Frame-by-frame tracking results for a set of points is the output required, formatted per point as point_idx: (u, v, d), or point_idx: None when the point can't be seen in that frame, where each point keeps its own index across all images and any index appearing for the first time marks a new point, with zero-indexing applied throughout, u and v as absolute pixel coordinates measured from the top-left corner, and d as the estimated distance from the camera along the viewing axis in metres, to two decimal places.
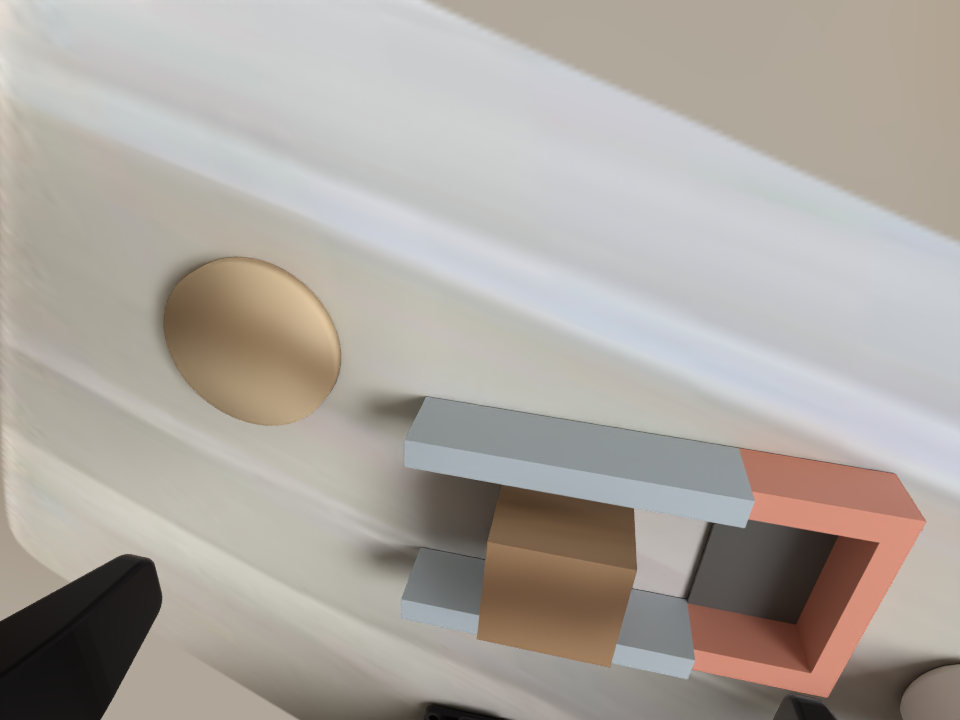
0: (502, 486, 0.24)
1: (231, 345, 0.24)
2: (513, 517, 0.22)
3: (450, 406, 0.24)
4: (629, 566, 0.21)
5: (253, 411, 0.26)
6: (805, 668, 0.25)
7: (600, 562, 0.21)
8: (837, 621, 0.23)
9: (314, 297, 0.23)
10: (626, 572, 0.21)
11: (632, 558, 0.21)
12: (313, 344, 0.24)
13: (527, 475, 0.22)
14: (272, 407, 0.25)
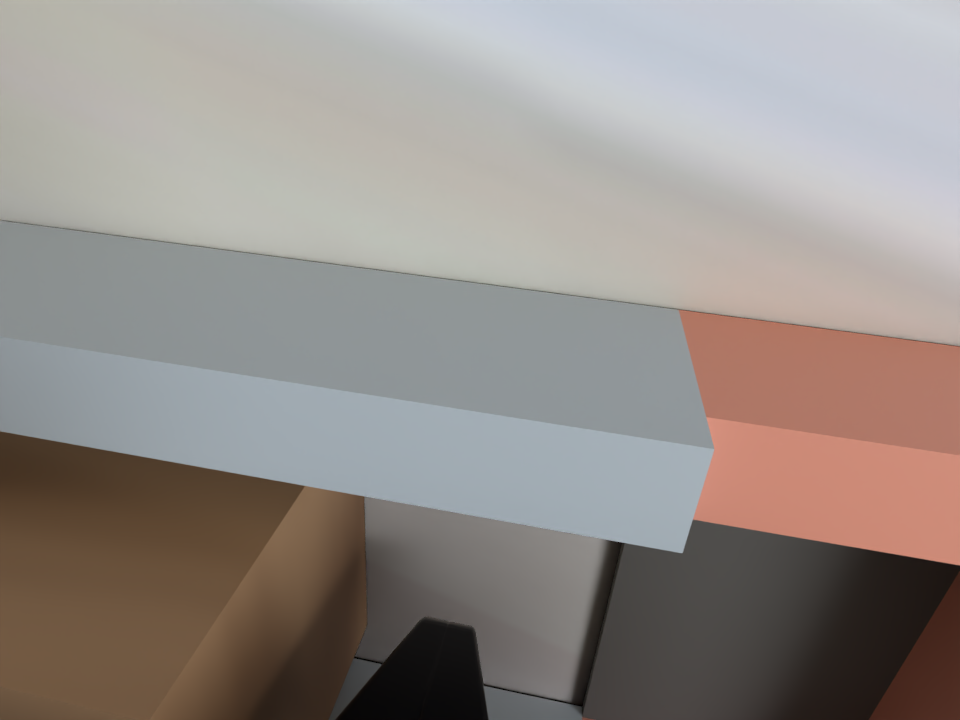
0: None
1: None
2: None
3: None
4: (131, 701, 0.05)
5: None
6: None
7: (26, 682, 0.05)
8: None
9: None
10: None
11: (171, 662, 0.05)
12: None
13: None
14: None
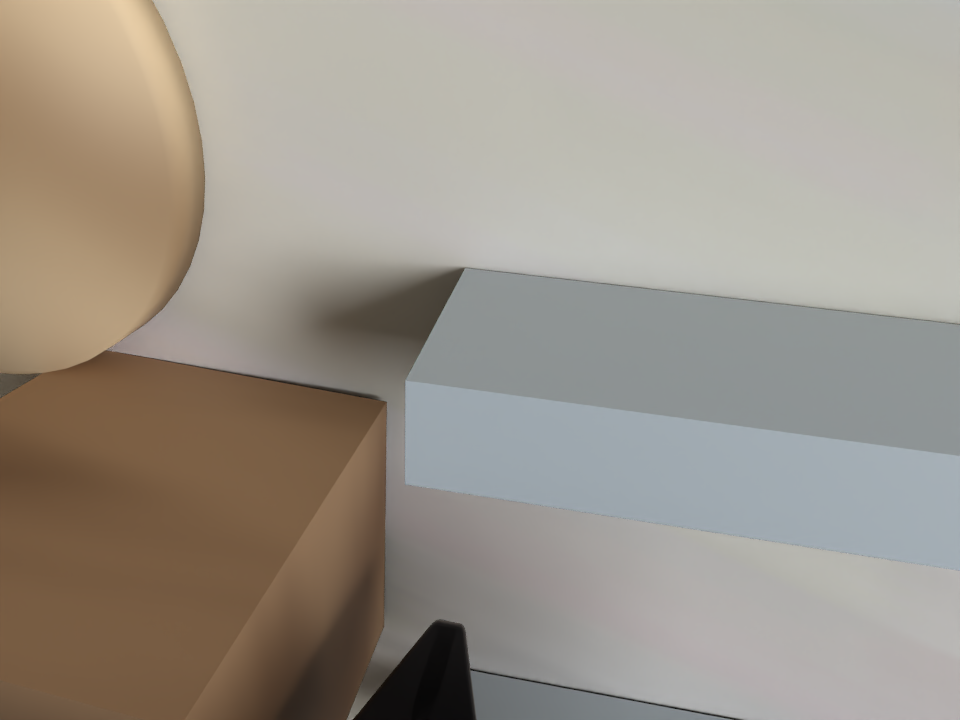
0: None
1: None
2: None
3: (545, 288, 0.08)
4: (161, 707, 0.05)
5: None
6: None
7: (55, 685, 0.05)
8: None
9: None
10: None
11: (201, 668, 0.05)
12: (90, 80, 0.07)
13: (906, 508, 0.05)
14: (19, 318, 0.09)
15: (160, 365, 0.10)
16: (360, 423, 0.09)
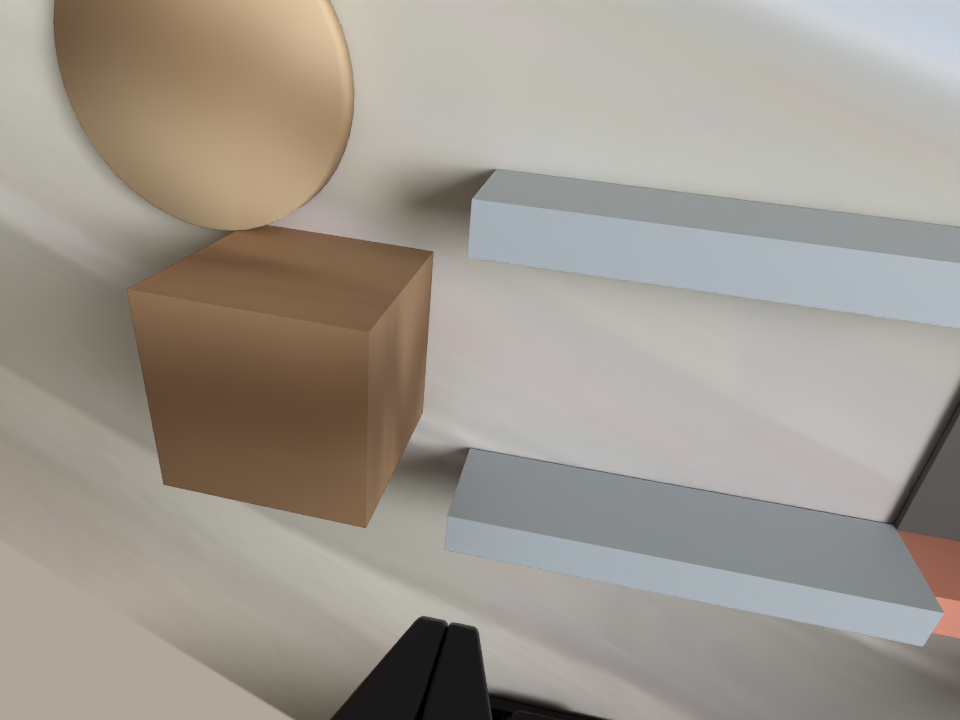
0: (212, 244, 0.15)
1: (168, 72, 0.14)
2: (201, 271, 0.13)
3: (540, 178, 0.14)
4: (359, 327, 0.12)
5: (208, 204, 0.16)
6: None
7: (311, 320, 0.12)
8: None
9: None
10: (354, 337, 0.12)
11: (371, 319, 0.12)
12: (307, 58, 0.14)
13: (698, 260, 0.12)
14: (239, 194, 0.15)
15: (300, 230, 0.16)
16: (421, 257, 0.16)
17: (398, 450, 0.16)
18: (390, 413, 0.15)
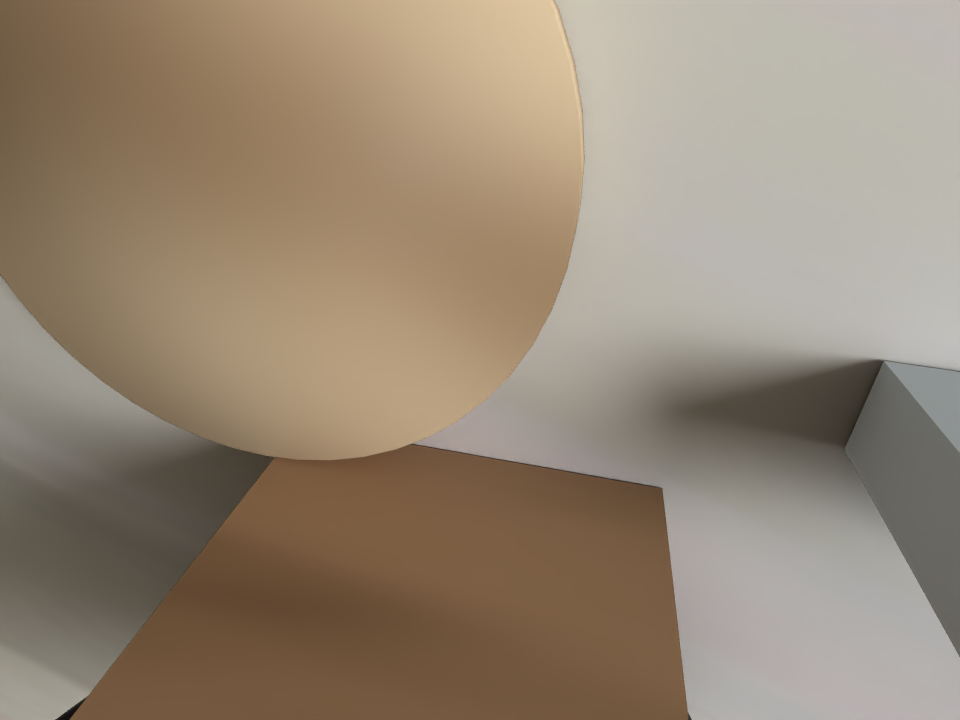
0: (225, 527, 0.07)
1: (171, 163, 0.06)
2: (202, 661, 0.06)
3: None
4: None
5: (254, 414, 0.08)
6: None
7: None
8: None
9: None
10: None
11: None
12: (505, 136, 0.06)
13: None
14: (319, 400, 0.07)
15: None
16: (652, 519, 0.08)
17: None
18: None
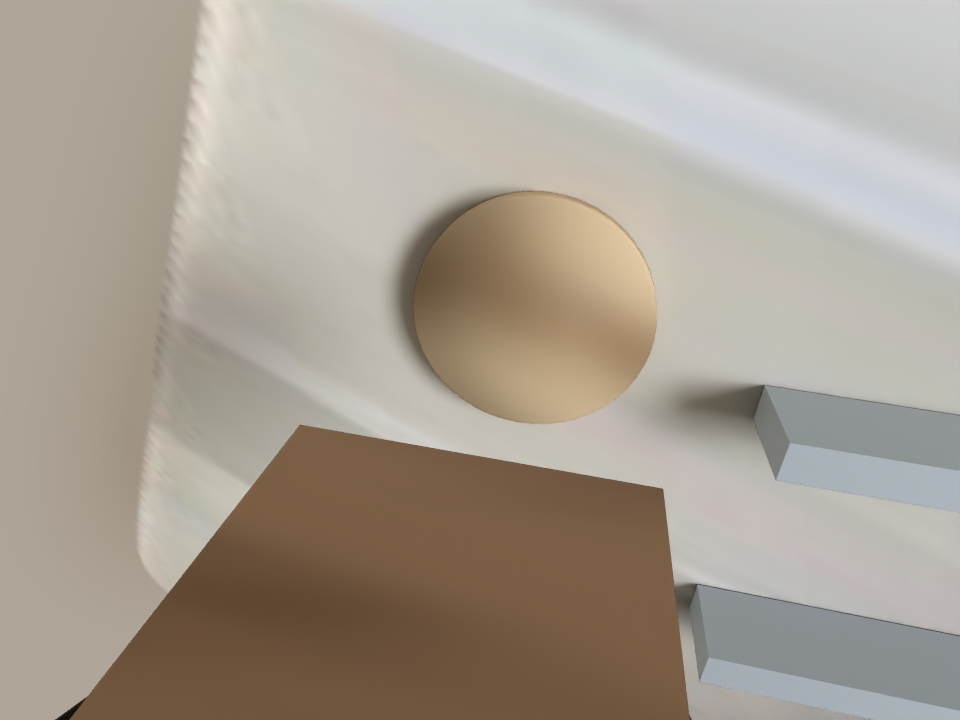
0: (225, 527, 0.07)
1: (508, 314, 0.18)
2: (199, 662, 0.06)
3: (807, 398, 0.18)
4: None
5: (517, 405, 0.19)
6: None
7: None
8: None
9: (637, 246, 0.17)
10: None
11: None
12: (632, 311, 0.17)
13: None
14: (547, 399, 0.19)
15: (393, 447, 0.08)
16: (653, 520, 0.08)
17: None
18: None
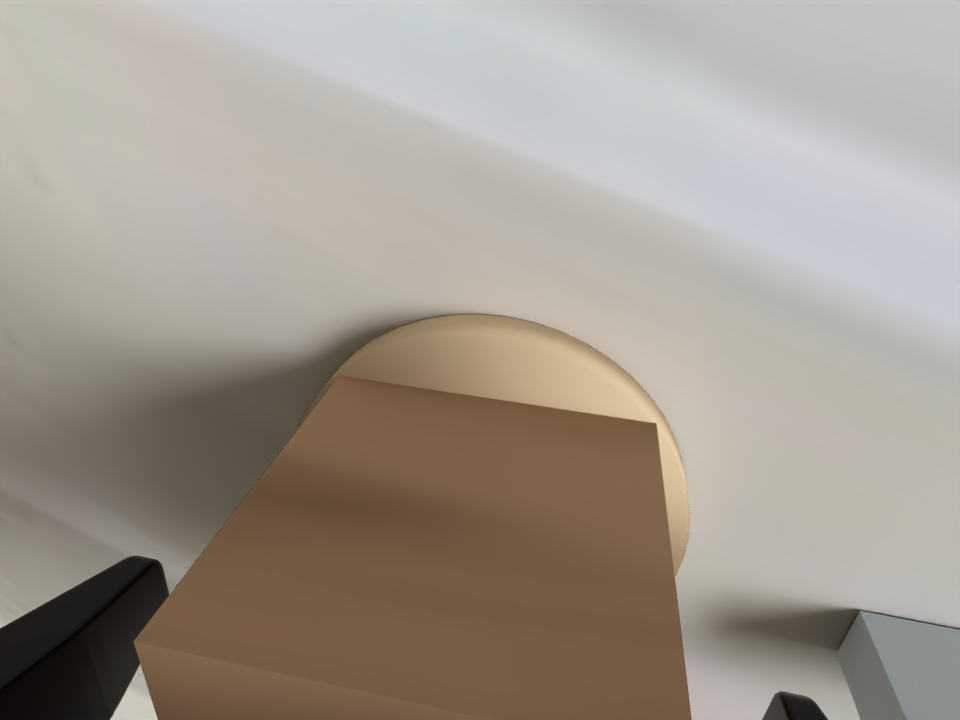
0: (285, 451, 0.08)
1: None
2: (278, 544, 0.07)
3: (934, 641, 0.11)
4: None
5: None
6: None
7: None
8: None
9: (656, 408, 0.10)
10: None
11: (675, 702, 0.05)
12: None
13: None
14: None
15: (421, 392, 0.10)
16: (647, 445, 0.09)
17: None
18: None
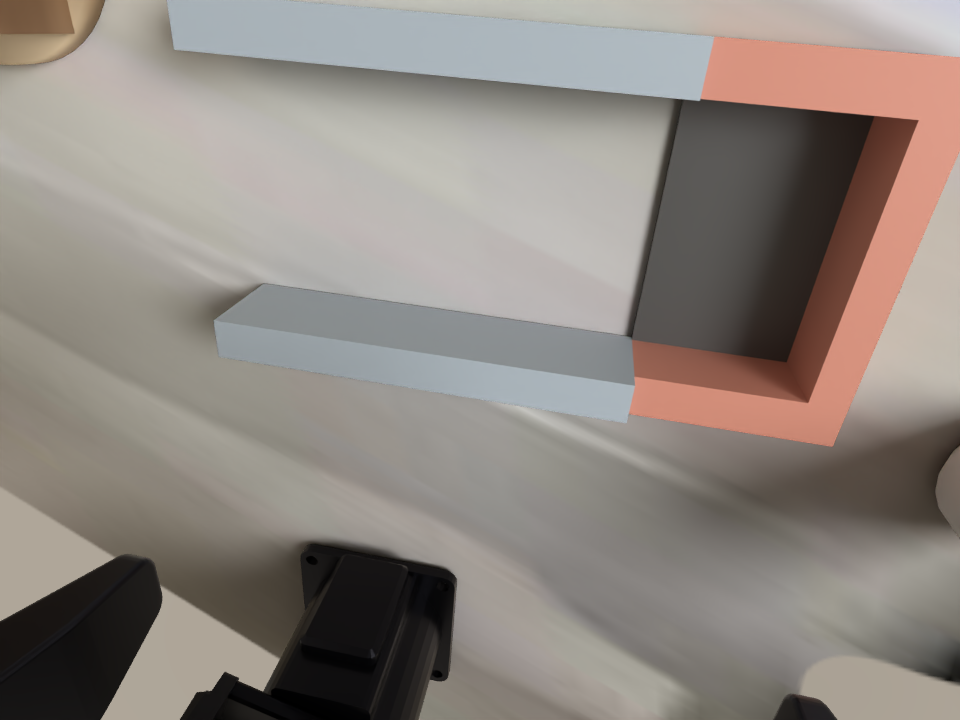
0: None
1: None
2: None
3: None
4: None
5: None
6: (799, 398, 0.16)
7: None
8: (848, 297, 0.15)
9: None
10: None
11: None
12: None
13: (356, 37, 0.14)
14: None
15: None
16: None
17: None
18: None
